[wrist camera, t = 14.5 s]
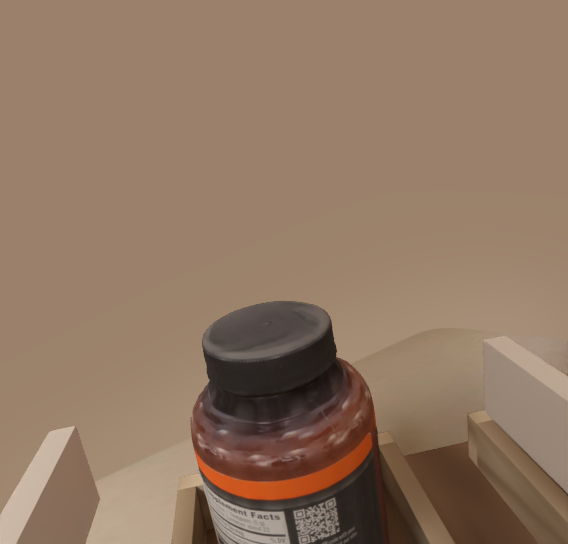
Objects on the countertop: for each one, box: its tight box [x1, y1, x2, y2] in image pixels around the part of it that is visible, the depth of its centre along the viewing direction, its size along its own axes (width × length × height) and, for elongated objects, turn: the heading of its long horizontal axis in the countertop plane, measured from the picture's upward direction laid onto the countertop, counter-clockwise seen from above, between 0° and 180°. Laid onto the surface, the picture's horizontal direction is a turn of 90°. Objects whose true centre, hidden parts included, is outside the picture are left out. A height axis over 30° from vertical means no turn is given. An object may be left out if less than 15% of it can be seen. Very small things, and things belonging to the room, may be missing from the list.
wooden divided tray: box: [171, 410, 568, 544], centre depth 17 cm, size 24×12×4 cm, turn 98°
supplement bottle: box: [191, 301, 390, 544], centre depth 15 cm, size 6×6×11 cm
